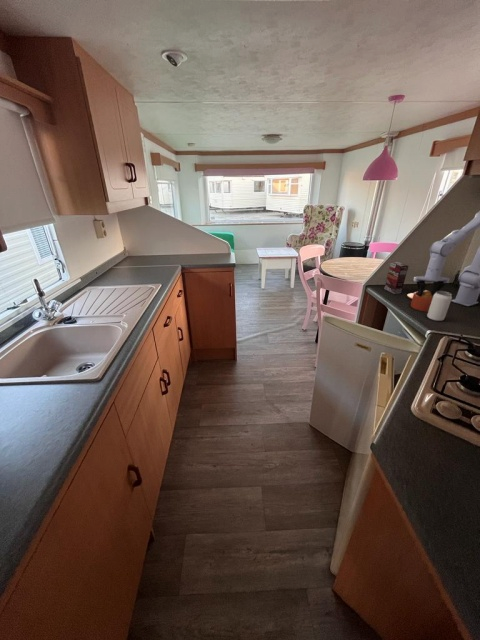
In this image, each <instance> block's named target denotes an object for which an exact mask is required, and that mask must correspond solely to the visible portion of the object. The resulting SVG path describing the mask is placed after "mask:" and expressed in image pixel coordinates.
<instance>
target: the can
mask: <svg viewBox="0 0 480 640" xmlns="http://www.w3.org/2000/svg"><path fill="white" fill-rule="evenodd" d="M451 300H453V297H452V293H451V292H449V291H445V290H439V291H436V293H435V294H434V296H433V299H432V302H431V305H430V308H429V311H428V312H427V314H426V317H427V318H428V319H429V320H432V321H436V322H442V321H444V320H445V318H446V316H447V313H448V311H449V308H450V304H451V302H452V301H451Z"/></svg>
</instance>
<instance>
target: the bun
mask: <svg viewBox="0 0 480 640" xmlns="http://www.w3.org/2000/svg"><path fill="white" fill-rule="evenodd" d="M431 292H432V291H430V290H427V289H426V290H424V291H423V294H422V296H421V297H423V298H430V299H432V297H433V296H432V294H431Z"/></svg>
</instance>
